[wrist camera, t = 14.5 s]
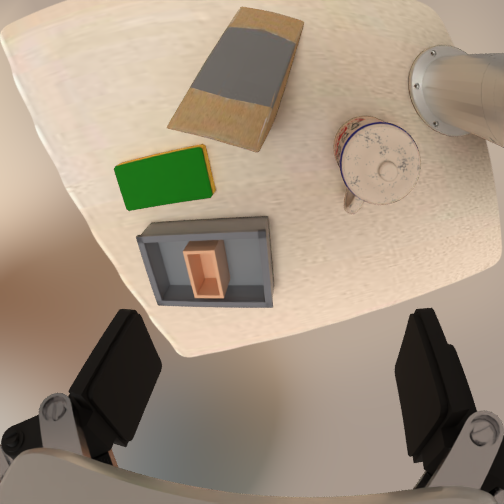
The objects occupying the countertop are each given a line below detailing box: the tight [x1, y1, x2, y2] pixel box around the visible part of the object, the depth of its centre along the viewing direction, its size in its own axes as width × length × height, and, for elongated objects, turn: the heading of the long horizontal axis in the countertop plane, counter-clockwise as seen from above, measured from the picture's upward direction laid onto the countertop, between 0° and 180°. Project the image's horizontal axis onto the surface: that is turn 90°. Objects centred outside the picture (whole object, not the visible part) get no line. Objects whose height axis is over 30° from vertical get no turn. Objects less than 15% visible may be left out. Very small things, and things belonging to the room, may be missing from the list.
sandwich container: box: [167, 7, 304, 152], centre depth 28 cm, size 9×15×15 cm, turn 164°
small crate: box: [183, 240, 230, 298], centre depth 46 cm, size 4×8×5 cm, turn 6°
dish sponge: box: [114, 144, 216, 211], centre depth 42 cm, size 7×14×2 cm, turn 100°
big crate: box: [136, 216, 274, 308], centre depth 46 cm, size 18×12×5 cm
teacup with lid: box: [334, 116, 421, 214], centre depth 33 cm, size 12×9×12 cm
